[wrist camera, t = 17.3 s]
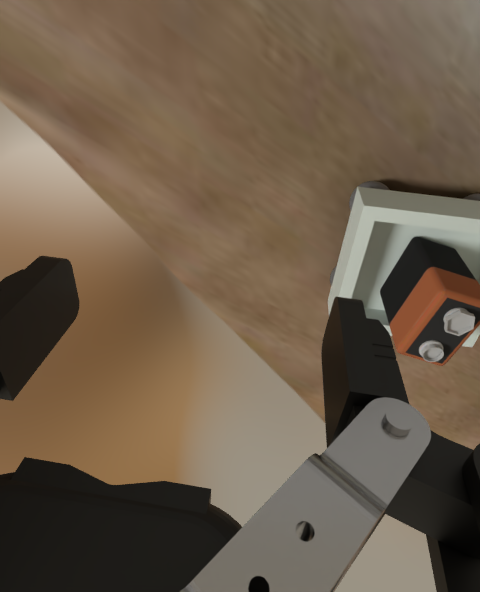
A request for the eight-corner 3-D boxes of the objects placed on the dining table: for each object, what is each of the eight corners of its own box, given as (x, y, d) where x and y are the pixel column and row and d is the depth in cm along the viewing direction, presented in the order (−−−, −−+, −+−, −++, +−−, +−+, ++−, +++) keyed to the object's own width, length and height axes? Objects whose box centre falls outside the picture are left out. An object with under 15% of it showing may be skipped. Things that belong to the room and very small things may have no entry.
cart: (325, 281, 46) (330, 327, 39) (352, 173, 38) (364, 205, 31) (446, 298, 45) (472, 347, 38) (498, 189, 37) (542, 227, 30)
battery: (457, 247, 35) (504, 315, 27) (417, 304, 39) (447, 377, 31) (412, 233, 35) (446, 296, 27) (376, 291, 39) (396, 362, 31)
